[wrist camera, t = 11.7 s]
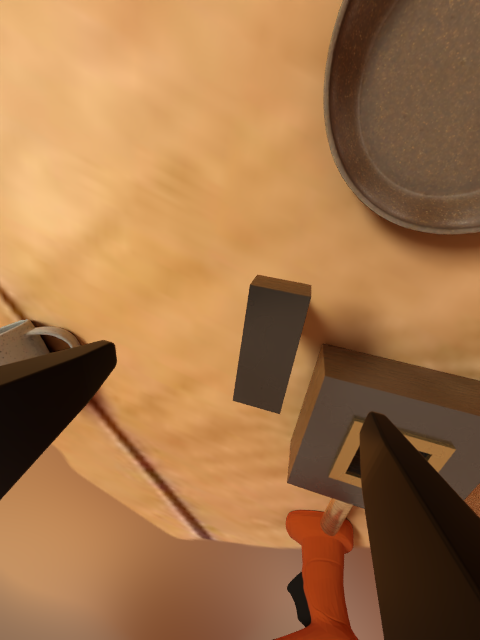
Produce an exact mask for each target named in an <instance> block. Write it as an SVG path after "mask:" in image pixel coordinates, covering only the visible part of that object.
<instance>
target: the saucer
mask: <svg viewBox="0 0 480 640" xmlns="http://www.w3.org/2000/svg"><path fill="white" fill-rule="evenodd" d="M324 118H325V126H326V132H327V138H328V142H329V146H330V150H331V153H332V156H333V158H334V162H335V164H336V166H337V168H338V170H339V172H340V174H341V176H342V177H343V179H344V181H345V182H346V184H347V185H348V186H349V188H350V189H351V190H352V191H353V193H354V194H355V195H356V196H357V197H358V198H359V199H360V200H361V201H362V202H363V203H364V204H365V205H366V206H367V207H369V208H370V209H371V210H372V211H374V212H375V213H376V214H378V215H379V216H381V217H383V218H385V219H386V220H388V221H390V222H392V223H395V224H397V225H399V226H402V227H405V228H407V229H411V230H415V231H421V232H426V233H434V234H466V233H475V232H480V0H343V2H342V4H341V7H340V10H339V13H338V16H337V19H336V23H335V26H334V30H333V33H332V38H331V42H330V47H329V52H328V57H327V63H326V70H325V80H324Z"/></svg>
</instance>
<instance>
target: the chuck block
mask: <svg viewBox="0 0 480 640" xmlns="http://www.w3.org/2000/svg"><path fill="white" fill-rule="evenodd" d="M371 411H374V412H378V413H381V414H384V415H386V416H387V417H388V419H389V420H390V421H391V422H392V423H393V424H394V425H395V426H396V427H397V428H398V429H399V431H400V432H401V433H402V434H403V435H404V436H405V437H406V438H407V439H408V440H409V441H410V443H411V444H412V445H413V446H414V447H415V448H416V449H417V450H418V451H419V452H420V453H421V455H422V456H423V457H424V458H425V459H426V460H427V461H428V462H429V463H430V464H431V465H432V466H433V468H434V469H435V470H436V471H437V472H438V473H439V474H440V475H441V476H442V477H443V478H444V480H445V481H446V482H447V483H448V484H449V485H450V486H451V487H452V488H453V489H454V490H455V492H456V493H457V494H458V495H459V496H460V497H461V498H462V499H463V500H465V499H466V497H467V496H468V495H469V494H470V493H471V492H472V491H473V490H474V489H475V488H476V487H477V485H478V484H479V483H480V381H478V380H473V379H469V378H465V377H461V376H457V375H453V374H448V373H444V372H440V371H436V370H432V369H427V368H423V367H419V366H415V365H411V364H407V363H402V362H398V361H394V360H390V359H386V358H381V357H377V356H373V355H369V354H365V353H361V352H356V351H352V350H348V349H344V348H340V347H335V346H331V345H327V344H322V347H321V350H320V354H319V357H318V360H317V363H316V366H315V369H314V372H313V375H312V378H311V381H310V384H309V387H308V390H307V393H306V396H305V399H304V402H303V406H302V409H301V412H300V415H299V418H298V421H297V424H296V427H295V430H294V433H293V436H292V439H291V445H290V456H289V467H288V478H287V483H289V484H292V485H295V486H298V487H301V488H304V489H307V490H310V491H313V492H316V493H319V494H322V495H325V496H328V497H330V498H332V499H331V501H330V503H329V505H328V507H327V509H326V510H325V512H324V514H323V516H322V518H321V521H320V525H321V528H322V530H323V531H324V532H325V533H326V534H327V535H329V536H335V535H336V534H337V532H338V530H339V529H340V527H341V525H342V524H343V522H344V520H345V518H346V517H347V515H348V513H349V512H350V510H351V508H352V506H353V505H354V506H357V507H360V508H363V509H365V508H364V501H363V494H362V486H361V465H360V438H359V436H360V430H361V427H362V425H363V423H364V421H365V419H366V417H367V415H368V413H369V412H371Z"/></svg>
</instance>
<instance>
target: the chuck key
mask: <svg viewBox="0 0 480 640" xmlns="http://www.w3.org/2000/svg"><path fill="white" fill-rule="evenodd" d="M310 299H311V285H308V284H302V283H297V282H292V281H287V280H282V279H277V278H272V277H267V276H262V275H257V276H256V277H255V279H254V280H253V281H252V283H251V284H250V289H249V295H248V302H247V309H246V316H245V322H244V329H243V336H242V342H241V349H240V356H239V362H238V369H237V376H236V382H235V389H234V396H233V401H236V402H239V403H243V404H246V405H250V406H253V407H257V408H260V409H264V410H267V411H271V412H274V413H278V414H280V411H281V408H282V404H283V400H284V396H285V393H286V389H287V385H288V381H289V378H290V374H291V370H292V367H293V363H294V359H295V355H296V352H297V348H298V344H299V340H300V337H301V333H302V329H303V325H304V322H305V318H306V314H307V310H308V307H309V303H310Z"/></svg>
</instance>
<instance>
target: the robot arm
mask: <svg viewBox="0 0 480 640" xmlns="http://www.w3.org/2000/svg"><path fill="white" fill-rule="evenodd" d="M116 363H117V357H116V349H115V345H114V343H112V342H109V341H105V340H101V341H97V342H93V343H89V344H85V345H81V346H77V347H73V348H69V349H65V350H61V351H57V352H53V353H49V354H45V355H41V356H37V357H33V358H29V359H25V360H22V361H18V362H14V363H10V364H6V365H2V366H0V500H1V499H2V497H3V496H4V495H5V494H6V493H7V492H8V491H9V490H10V489H11V488H12V486H13V485H14V484H15V483H16V482H17V481H18V480H19V479H20V478H21V477H22V475H23V474H24V473H25V472H26V471H27V470H28V469H29V468H30V467H31V465H32V464H33V463H34V462H35V461H36V460H37V459H38V458H39V457H40V455H41V454H42V453H43V452H44V451H45V450H46V449H47V448H48V447H49V445H50V444H51V443H52V442H53V441H54V440H55V439H56V438H57V437H58V436H59V434H60V433H61V432H62V431H63V430H64V429H65V428H66V427H67V426H68V424H69V423H70V422H71V421H72V420H73V419H74V418H75V417H76V416H77V415H78V413H79V412H80V411H81V410H82V409H83V408H84V407H85V406H86V404H87V403H88V402H89V401H90V400H91V399H92V397H93V396H94V395H95V393H96V392H97V391H98V389H99V388H100V387H101V385H102V384H103V383H104V381H105V380H106V379H107V377H108V376H109V375H110V373H111V372H112V371H113V369H114V368H115V366H116ZM359 438H360V465H361V486H362V494H363V501H364V508H365V514H366V521H367V528H368V534H369V541H370V548H371V554H372V560H373V568H374V574H375V581H376V588H377V594H378V600H379V607H380V614H381V620H382V628H383V634H384V640H480V518H479V517H478V516H477V514H476V513H475V512H474V511H473V510H472V509H471V508H470V507H469V506H468V505H467V504H466V502H465V501H464V500H463V499H462V498H461V497H460V496H459V495H458V494H457V493H456V492H455V490H454V489H453V488H452V487H451V486H450V485H449V484H448V483H447V482H446V481H445V480H444V478H443V477H442V476H441V475H440V474H439V473H438V472H437V471H436V470H435V469H434V468H433V466H432V465H431V464H430V463H429V462H428V461H427V460H426V459H425V458H424V457H423V456H422V455H421V453H420V452H419V451H418V450H417V449H416V448H415V447H414V446H413V445H412V444H411V443H410V441H409V440H408V439H407V438H406V437H405V436H404V435H403V434H402V433H401V432H400V431H399V429H398V428H397V427H396V426H395V425H394V424H393V423H392V422H391V421H390V420H389V419H388V417H387V416H386V415H384V414H381V413H378V412H374V411H371V412H369V413H368V415H367V417H366V419H365V421H364V423H363V425H362V427H361V430H360V436H359Z"/></svg>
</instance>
